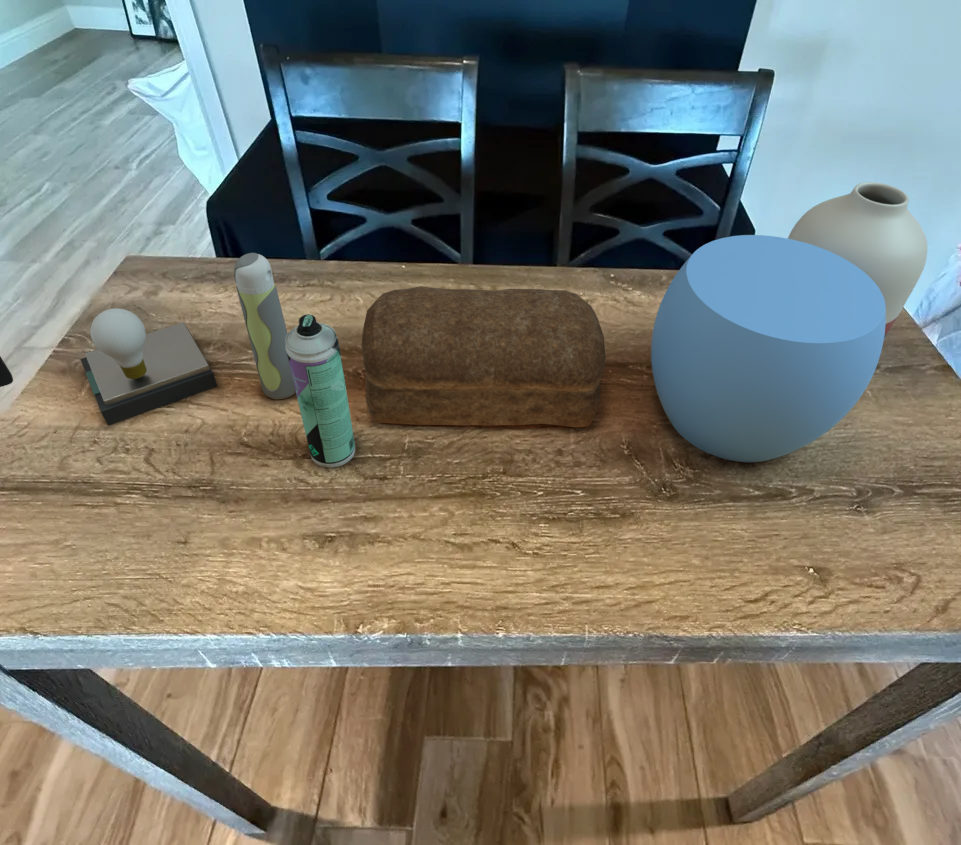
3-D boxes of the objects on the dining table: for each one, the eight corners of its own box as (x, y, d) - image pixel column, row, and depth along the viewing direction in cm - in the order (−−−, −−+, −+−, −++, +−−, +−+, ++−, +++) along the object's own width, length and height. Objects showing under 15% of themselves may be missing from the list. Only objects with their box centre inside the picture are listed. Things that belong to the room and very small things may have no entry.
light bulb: (129, 359, 89) (101, 295, 82) (171, 365, 88) (146, 302, 81) (103, 388, 85) (71, 324, 78) (146, 395, 84) (117, 331, 77)
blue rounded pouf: (865, 483, 81) (953, 352, 67) (662, 491, 80) (707, 358, 65) (785, 352, 99) (841, 226, 85) (618, 356, 97) (645, 228, 83)
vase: (761, 299, 109) (817, 153, 92) (874, 328, 104) (954, 180, 87) (743, 359, 98) (802, 206, 81) (868, 395, 93) (959, 241, 76)
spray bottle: (290, 404, 89) (259, 273, 75) (256, 397, 89) (218, 266, 75) (306, 380, 92) (278, 250, 78) (273, 374, 93) (240, 244, 79)
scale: (108, 426, 85) (97, 406, 83) (87, 373, 92) (77, 353, 90) (217, 386, 91) (211, 366, 88) (190, 339, 98) (183, 319, 95)
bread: (600, 434, 86) (618, 354, 77) (361, 429, 86) (349, 348, 76) (586, 350, 98) (600, 272, 89) (376, 345, 98) (368, 266, 88)
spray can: (347, 429, 86) (325, 298, 72) (361, 459, 82) (341, 327, 68) (305, 443, 84) (273, 310, 70) (317, 473, 80) (287, 341, 66)
